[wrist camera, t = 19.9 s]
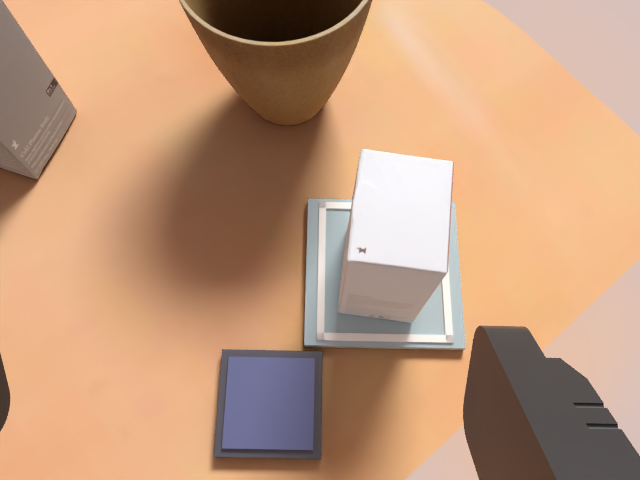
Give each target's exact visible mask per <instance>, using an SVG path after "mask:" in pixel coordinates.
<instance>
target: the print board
mask: <svg viewBox="0 0 640 480" xmlns="http://www.w3.org/2000/svg"><path fill="white" fill-rule="evenodd" d="M351 204H352V199H313V198H308V221H307V257H306V293H305V329H304V347H334V348H384V349H434V350H464V349H465V348H466V345H465V331H464V318H463V305H462V292H461V278H460V265H459V252H458V239H457V225H456V212H455V202H454V201H452V207H451V225H450V244H449V260H448V273H447V274H446V275H445V277H444V278H443V279H442V281H441V282H440V284H439V285H438V287H437V288H436V290H435V291H434V292H433V294H432V295H431V297H430V298H429V300H428V301H427V302H426V304H425V305H424V307H423V308H422V309H421V311H420V312H419V314H418V315H417V317H416V318H415V320H414V321H413V322H412V323H408V322H401V321H394V320H388V319H380V318H373V317H365V316H357V315H350V314H342V313H338V312H337V309H338V298H339V289H340V280H341V272H342V264H343V256H344V248H345V241H346V234H347V227H348V222H349V217H350V210H351Z"/></svg>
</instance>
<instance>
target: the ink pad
mask: <svg viewBox="0 0 640 480" xmlns="http://www.w3.org/2000/svg"><path fill="white" fill-rule="evenodd" d="M322 362H323V351H275V350H224V349H222V360H221V372H220V385H219V397H218V410H217V422H216V435H215V447H214V457H244V458H298V459H321V425H322Z"/></svg>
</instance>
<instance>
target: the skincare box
mask: <svg viewBox="0 0 640 480" xmlns="http://www.w3.org/2000/svg"><path fill="white" fill-rule="evenodd" d="M76 112H77V110H76V109H75V107H74V106H73V104H72V103H71V101H70V100H69V98H68V97H67V95H66V94H65V92H64V91H63V89H62V88H61V86H60V85H59V83H58V82H57V80H56V79H55V77H54V76H53V74H52V73H51V71H50V70H49V68H48V67H47V65H46V64H45V63H44V61H43V60H42V58H41V57H40V55H39V54H38V52H37V51H36V49H35V48H34V46H33V45H32V43H31V42H30V40H29V39H28V37H27V36H26V34H25V33H24V31H23V30H22V28H21V27H20V26H19V24H18V23H17V21H16V20H15V18H14V17H13V15H12V14H11V12H10V11H9V9H8V8H7V6H6V5H5V3H4V2H3V0H0V168H2V169H6V170H9V171H12V172H15V173H18V174H21V175H24V176H27V177H31V178H34V179H38V178H39V176H40V174H41V172H42V170H43V168H44V166H45V165H46V163H47V162H48V160H49V159H50V157H51V156H52V154H53V152H54V151H55V149H56V148H57V146H58V144H59V143H60V141H61V139H62V138H63V136H64V134H65V133H66V131H67V129H68V127H69V126H70V124H71V122H72V120H73V118H74V116H75V115H76Z"/></svg>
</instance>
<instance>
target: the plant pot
mask: <svg viewBox="0 0 640 480" xmlns="http://www.w3.org/2000/svg"><path fill="white" fill-rule="evenodd" d="M179 1H180V3H181V5H182V7H183V9H184V11H185V13H186V15H187V17H188V19H189V20H190V22H191V24H192V26H193V28H194V29H195V31H196V33H197V35H198V37H199V39H200V40H201V42H202V44H203V46H204V47H205V49H206V50H207V52H208V54H209V55H210V57H211V58H212V60H213V61H214V63H215V64H216V66H217V67H218V69H219V70H220V71H221V73H222V74H223V76H224V77H225V78H226V79H227V81H228V82H229V83H230V85H231V86H232V87H233V88H234V89H235V91H236V92H237V93H238V94H239V95H240V96H241V97H242V98H243V100H244V101H245V102H246V103H247V104H248V105H249V106H250V107H251V108H252V109H253V110H254V111H255V112H257V113H258V114H259V115H260V116H261V117H262V118H264V119H265V120H267V121H269V122H272V123H274V124H278V125H285V126H287V125H297V124H300V123H303V122H306V121H307V120H309V119H311V118H313V117H314V116H315V115H316V114H317V113H318V112H319V111H320V110H321V108H322V107H323V106H324V105H325V103H326V102H327V100H328V99H329V98H330V96H331V95H332V93H333V91H334V90H335V88H336V87H337V85H338V83H339V82H340V80H341V78H342V76H343V74H344V72H345V70H346V68H347V66H348V64H349V62H350V60H351V57H352V55H353V53H354V51H355V48H356V46H357V43H358V41H359V38H360V35H361V33H362V30H363V27H364V24H365V22H366V19H367V15H368V12H369V9H370V6H371V2H372V0H179Z"/></svg>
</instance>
